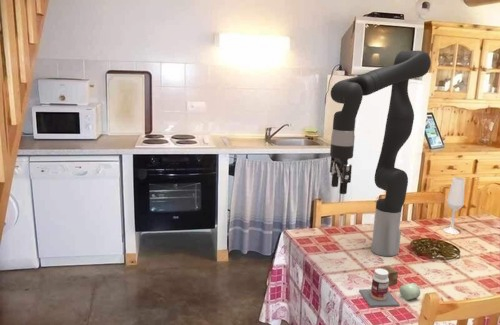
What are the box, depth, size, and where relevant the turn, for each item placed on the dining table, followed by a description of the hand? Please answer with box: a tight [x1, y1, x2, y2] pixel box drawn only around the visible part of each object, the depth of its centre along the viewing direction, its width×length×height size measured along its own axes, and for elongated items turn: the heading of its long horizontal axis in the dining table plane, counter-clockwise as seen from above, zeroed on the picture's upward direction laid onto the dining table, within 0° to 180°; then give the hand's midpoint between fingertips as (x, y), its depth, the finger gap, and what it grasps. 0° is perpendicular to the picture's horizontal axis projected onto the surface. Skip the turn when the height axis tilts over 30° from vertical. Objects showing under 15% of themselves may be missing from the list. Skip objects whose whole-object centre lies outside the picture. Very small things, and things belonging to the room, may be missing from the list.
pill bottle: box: [370, 268, 389, 300], centre depth 128 cm, size 5×5×8 cm
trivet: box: [358, 288, 400, 308], centre depth 129 cm, size 9×9×1 cm
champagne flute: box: [442, 176, 466, 235], centre depth 184 cm, size 7×7×24 cm
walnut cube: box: [377, 265, 399, 287], centre depth 139 cm, size 4×4×4 cm
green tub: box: [399, 282, 421, 301], centre depth 130 cm, size 4×4×4 cm
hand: (338, 190), depth 143 cm, fingers open, 8 cm apart
